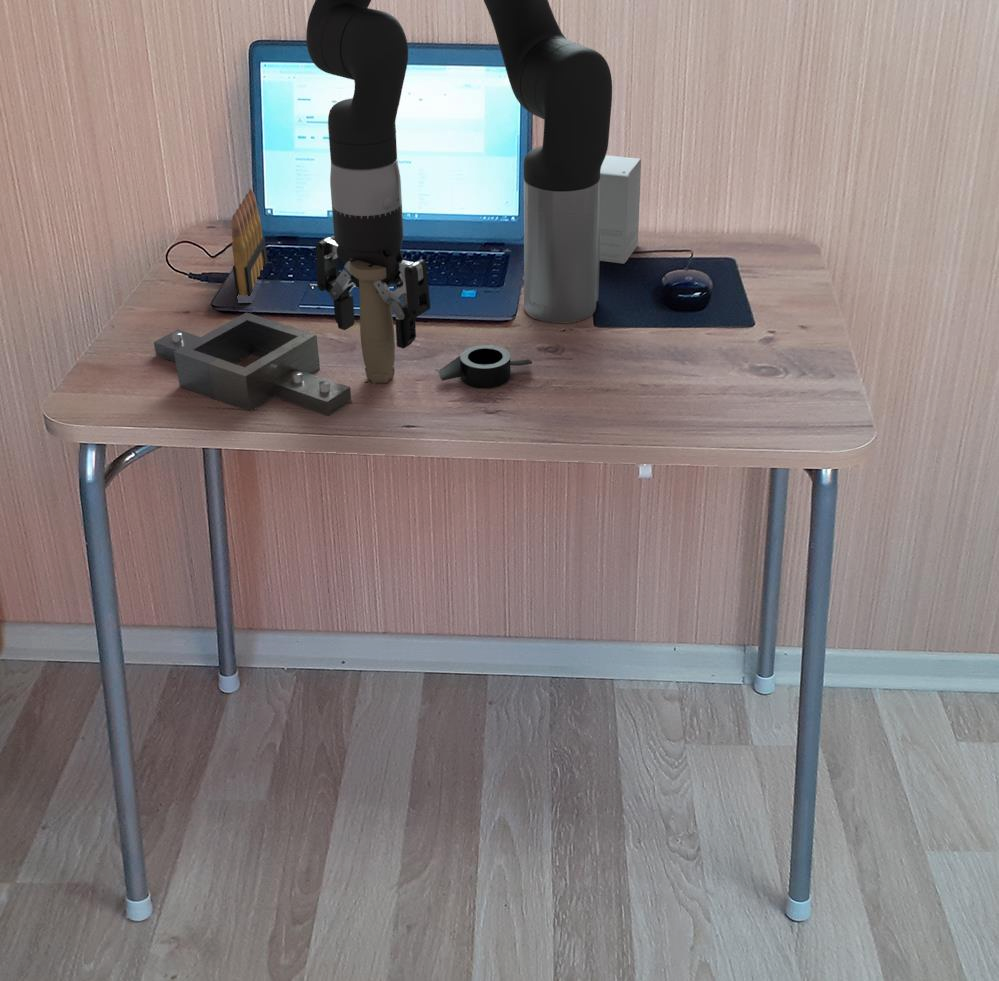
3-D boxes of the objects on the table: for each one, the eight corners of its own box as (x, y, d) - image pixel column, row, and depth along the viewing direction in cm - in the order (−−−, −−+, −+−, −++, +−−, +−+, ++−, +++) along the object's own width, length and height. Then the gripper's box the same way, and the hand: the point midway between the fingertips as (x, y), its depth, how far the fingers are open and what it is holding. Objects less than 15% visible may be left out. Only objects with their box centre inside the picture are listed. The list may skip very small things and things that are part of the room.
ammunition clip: (251, 304, 169) (239, 216, 162) (237, 304, 169) (225, 216, 162) (269, 270, 178) (258, 186, 171) (255, 270, 178) (245, 185, 171)
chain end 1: (131, 368, 155) (124, 334, 152) (203, 330, 163) (198, 297, 160) (214, 398, 148) (209, 363, 146) (284, 357, 157) (280, 323, 154)
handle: (402, 364, 155) (394, 246, 146) (400, 391, 149) (392, 269, 141) (361, 365, 154) (351, 247, 146) (358, 392, 149) (348, 270, 141)
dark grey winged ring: (517, 400, 148) (517, 377, 146) (434, 388, 150) (433, 366, 149) (535, 368, 154) (536, 346, 152) (455, 358, 156) (454, 336, 155)
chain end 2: (214, 398, 148) (209, 363, 146) (284, 357, 157) (280, 323, 154) (304, 431, 142) (300, 395, 139) (373, 386, 150) (370, 351, 148)
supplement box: (639, 245, 184) (643, 157, 177) (624, 265, 178) (628, 176, 171) (589, 238, 186) (591, 151, 179) (573, 258, 180) (574, 169, 173)
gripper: (440, 202, 139) (445, 339, 148) (337, 177, 146) (347, 309, 155) (397, 225, 134) (405, 365, 143) (293, 197, 141) (306, 333, 150)
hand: (375, 336), depth 149 cm, fingers open, 8 cm apart
